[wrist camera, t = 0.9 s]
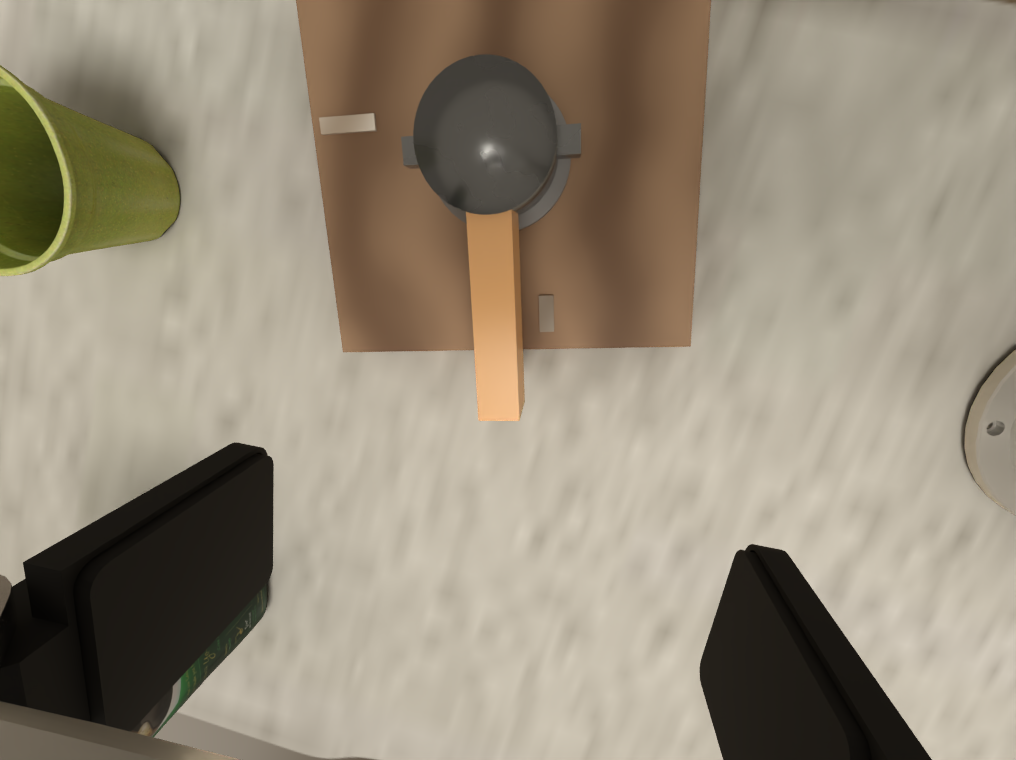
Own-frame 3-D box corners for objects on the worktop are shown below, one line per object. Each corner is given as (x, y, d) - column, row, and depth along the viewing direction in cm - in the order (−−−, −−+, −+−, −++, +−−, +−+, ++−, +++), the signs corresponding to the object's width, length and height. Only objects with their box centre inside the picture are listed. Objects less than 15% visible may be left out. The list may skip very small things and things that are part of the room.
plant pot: (199, 109, 28) (44, 51, 20) (215, 274, 31) (83, 284, 22) (55, 101, 29) (-152, 43, 21) (82, 262, 31) (-93, 267, 23)
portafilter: (579, 79, 22) (581, 44, 18) (580, 397, 26) (582, 423, 23) (413, 93, 23) (383, 63, 20) (438, 398, 27) (417, 422, 24)
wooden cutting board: (704, -74, 23) (724, -120, 20) (682, 339, 28) (695, 350, 25) (310, -26, 25) (277, -61, 23) (357, 345, 31) (335, 355, 28)
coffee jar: (163, 507, 36) (-233, 761, 18) (262, 513, 35) (-53, 788, 17) (186, 614, 38) (-140, 930, 21) (279, 623, 38) (20, 961, 20)
